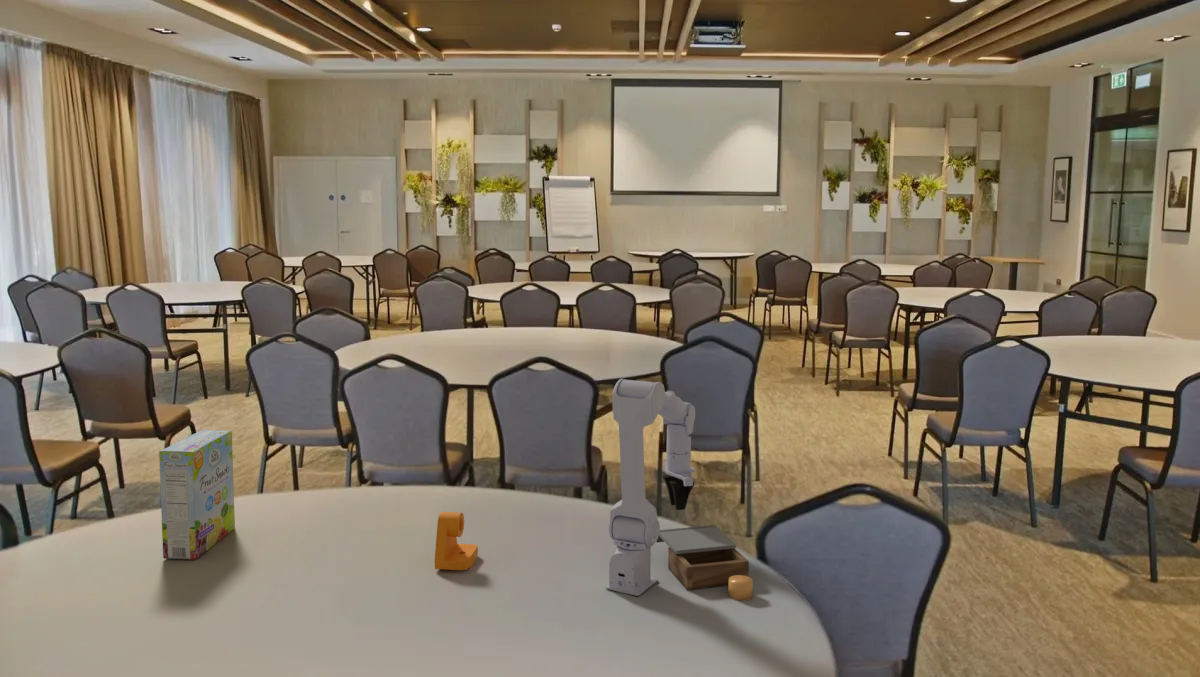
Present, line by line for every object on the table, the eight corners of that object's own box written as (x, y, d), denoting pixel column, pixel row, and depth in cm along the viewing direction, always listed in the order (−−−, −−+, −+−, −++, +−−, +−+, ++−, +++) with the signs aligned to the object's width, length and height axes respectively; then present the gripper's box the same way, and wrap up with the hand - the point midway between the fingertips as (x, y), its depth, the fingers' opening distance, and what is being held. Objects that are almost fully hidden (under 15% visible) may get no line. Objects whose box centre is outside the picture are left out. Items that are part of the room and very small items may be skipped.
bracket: (466, 574, 202) (465, 521, 200) (434, 572, 203) (433, 520, 201) (478, 555, 213) (477, 506, 211) (448, 554, 213) (447, 504, 212)
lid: (736, 555, 203) (737, 544, 203) (674, 562, 199) (674, 550, 199) (714, 535, 216) (714, 524, 215) (655, 541, 212) (655, 530, 212)
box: (748, 583, 197) (748, 561, 196) (687, 590, 193) (687, 567, 193) (726, 562, 208) (726, 541, 208) (668, 568, 205) (668, 547, 204)
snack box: (199, 561, 209) (192, 451, 206) (161, 560, 209) (154, 451, 206) (238, 528, 231) (233, 428, 227) (204, 528, 231) (198, 428, 227)
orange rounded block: (747, 602, 187) (747, 586, 187) (724, 597, 190) (724, 581, 189) (755, 594, 192) (756, 578, 191) (733, 589, 194) (733, 573, 194)
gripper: (705, 458, 210) (704, 515, 212) (684, 442, 224) (683, 496, 226) (676, 460, 208) (676, 517, 210) (656, 444, 222) (656, 498, 224)
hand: (677, 506), depth 218 cm, fingers open, 3 cm apart
